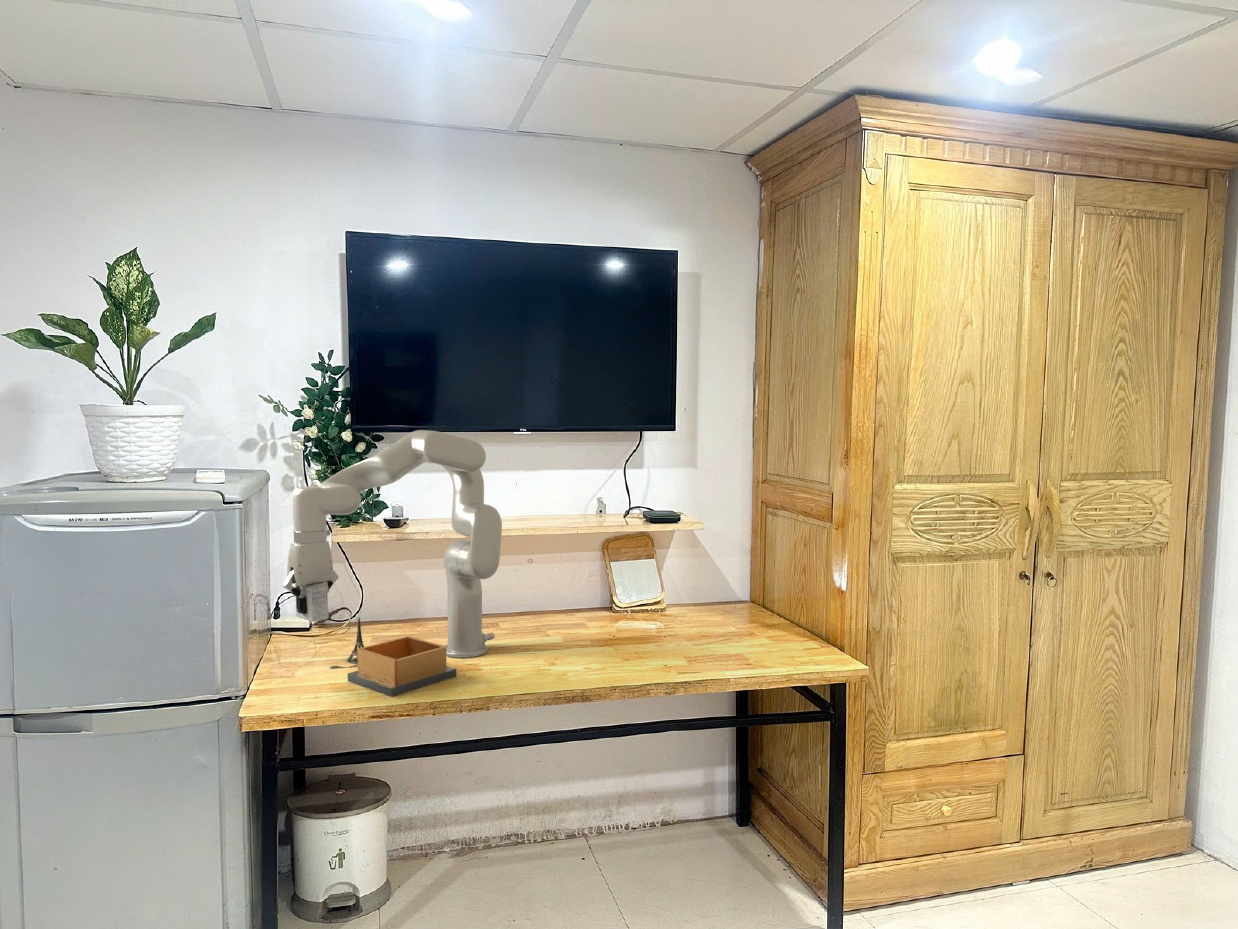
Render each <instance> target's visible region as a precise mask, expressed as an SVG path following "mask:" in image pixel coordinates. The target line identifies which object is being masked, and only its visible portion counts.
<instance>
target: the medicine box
mask: <svg viewBox="0 0 1238 929" xmlns="http://www.w3.org/2000/svg"><path fill="white" fill-rule="evenodd" d="M295 585H296V583H295ZM295 585H294V586H295ZM328 594H329V593H327V585H326V584H324V583H316V584H310V585H306V590H305V595H304V597H305V598H307V613H306V614H301V613H298V612H297V609H296V608H295V612H296V613H295V614H296V616H295V617H296V618H300V619H303V620H306V621H309V622H313V623H315V622H318V621H323V620H327V619H329V599H328V598H329V597H328V596H329V595H328Z"/></svg>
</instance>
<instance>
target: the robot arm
mask: <svg viewBox="0 0 1238 929" xmlns="http://www.w3.org/2000/svg"><path fill="white" fill-rule="evenodd" d="M486 459H487V455H486V450H485V448H484V447H483V446H482V444H481V443H480V442H477V441H476V440H472V439H467V438H465V437H464V438H463V437H459V436H456V435H452V434H450V433H449V434H448V433H445V432H442V431H437V430H436V431H435V430H424V429H419V430H414V431H411V432H410V433H407V434H405V435H404V436H403V437H401V438H400V439H398V440H397V441H395V442H394V443H392V444H391V445H389V446H388V447H386V448H384V449H383V450H381V451H379V452H378V453H377V454H376V453H375V454H374V455H373V456H370V457H368V458H366V459H364V460H361V461H360V462H357V463H355V464H352V465H350V466H348V467H345V468H344V469H341V470H339V471H338V472H336V473H335V474H333V475H331V476H330V477H329V478H327V479H325V480H324V481H322V483H320V484H319V485H318V486H316V485H315V486H314V485H311V486H307V485H306V486H305V485H304V486H299V487H296V488H294V490H293V491H292V515H293V516H292V520H293V522H292V524H293V543H290V546H289V550H288V554H287V566H286V569H287V571H286V573H287V574H286V577H287V578H286V579H285V581H284V582H283V584H282V588H283V589H285V590H286V591H289V592H290V593H291V594H292V595H293V596H294V597H295V610H296V609H297V612H298V613H301V614H306V613H307V598H305V597H304V595H305V590H306V585H310V584H316V583H324V584H326V585H327V594H329V593H330V590H331V588H332V586H333V585H334V584H335V583H336V582H337V580H339V578H340V577H339V575H338V573H336V571H335V570H334V567H333V566H334V564H333V556H332V551H331V550H332V549H331V545H330V542H329V540H327V539H328V537H329V536H330V535H331V533H332V532H331V530H330V529H328V528H327V515H335V516H347V515H350V514H353V513H354V512H356V511H357V510H358V509H359V508H360V506H361V502H362V497H361V494H360V493H361V492H364V491H366V490H370V489H374V488H379V487H384V486H388V485H391V484H393V483H396V482H397V481H398V480H400V479H401V478H403V477H404V476H406V475H408V474H409V473H411V472H412V471H413V470H414V469H416V468H418V467H420V466H421V465H422V464H424V463H428V464H434V465H440V466H441V467H443V469H445V471H447V473H448V474H449V476H450V478H451V482H452V485H453V488H452V490H453V493H452V506H451V508H452V509H451V527H452V530H453V531H454V532H456V533H457V534H459V535H462V536H465V537H470V540H468V539H467V540H466V539H459V540H455V541H453V542H451V543H450V544H449V545H448V546H447V548H445V551H444V555H443V564H444V570H445V576H446V581H447V582H446V583H447V644H445V646H446V657H450V658H457V659H458V658H459V659H460V658H462V659H464V658H473V657H474V658H475V657H478V656H482V655H484V654H486V653H487V652H488V651H489V650H488V649H489V648H488V645H487V644H486V642H487V641H492V640H494V639H495V633H494V632H489V633H484V632H483V591H482V590H483V589H482V588H483V587H482V581H481V580H486V579H489V578H492V576H494V575H495V574H496V572H497V570H498V567H499V564H500V559H501V546H502V531H503V522H502V517H501V514H500V512H499V511H498V510H497V509H496V508H495V507H494V506H492V505H490V504H485V481H484V477H483V474H482V472H481V468H482V467H483V466H484V465H485V463H486ZM295 583H296V585H294V586H293V584H295Z"/></svg>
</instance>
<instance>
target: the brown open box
mask: <svg viewBox="0 0 1238 929" xmlns="http://www.w3.org/2000/svg"><path fill="white" fill-rule="evenodd" d="M357 649H358V667H357V670H356V671H355V670H354V671H351V672H348V673H347V682H349V683H352V684H354V685H358V686H360V687H363V688H364V689H365V688H366V689H368V688H369V690H371V691H375V692H376V693H380V694H383V695H386V696H388V697H391V698H392V697H396V696H399V695H402V694H405V693H408V691H409V692H412V691H414V690H418V689H420V688H424V687H427V686H430V685H434V684H437V683H440V681H441V682H443V681H447V680H450V679H453V678H455V677H456V678H457V668H454V667H451V666H448V665H447V656H446V645H442V644H438V643H435V642H432V641H429V640H425V639H421V638H417V637H415V636H414V637H413V636H410V635H409V636H402V637H399V638H395V639H391V640H387V641H382V642H378V643H373V644H371V645H367V646H364V647H361V648H358V647H357Z"/></svg>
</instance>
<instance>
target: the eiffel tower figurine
mask: <svg viewBox="0 0 1238 929" xmlns="http://www.w3.org/2000/svg"><path fill="white" fill-rule="evenodd" d="M361 626H362V625H361V618H360V617H358V618H357V634H356V640H355V641H356V642H355V646H354V648H353V650H351V654H350V655H349V657H348V658H347V660H345V663H347V664H353V665H350V666H341V665H333V666H331V665H330V666H329V669H331V670H332V669H342V668H343V669H344V668H345V669H348V668H358V648H362V647H365V646H364V642H363V637H362V627H361ZM354 656H355V657H356V658H354Z"/></svg>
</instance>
